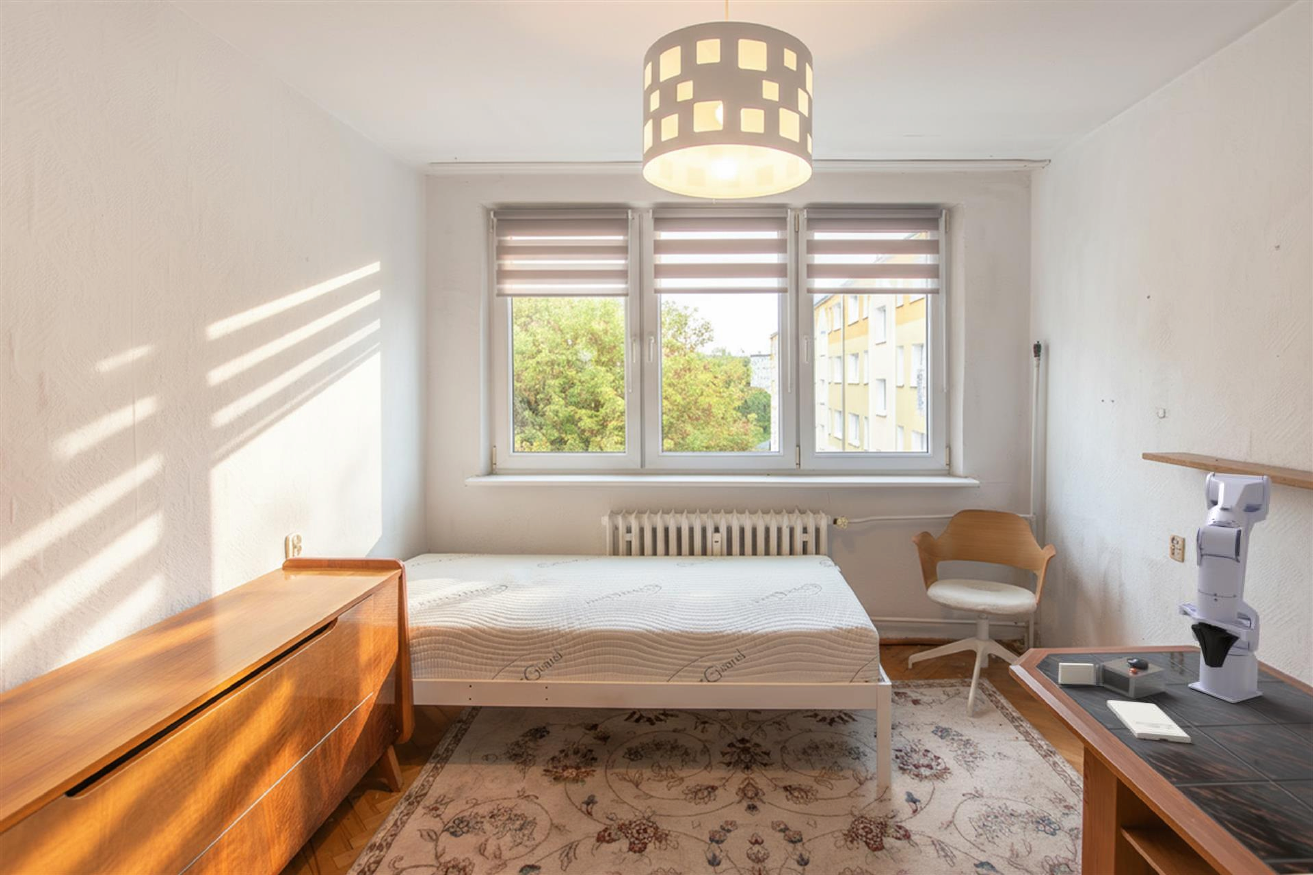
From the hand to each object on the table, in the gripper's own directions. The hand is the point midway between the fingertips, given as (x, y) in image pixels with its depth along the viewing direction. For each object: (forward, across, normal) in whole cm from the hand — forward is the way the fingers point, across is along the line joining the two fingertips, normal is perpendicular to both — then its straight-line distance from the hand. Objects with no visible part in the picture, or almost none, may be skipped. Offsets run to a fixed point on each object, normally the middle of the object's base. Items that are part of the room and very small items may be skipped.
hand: (1213, 665), depth 123 cm
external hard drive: (+11, +1, -13) cm, 17 cm away
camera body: (+10, -13, -5) cm, 17 cm away
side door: (+10, -15, -15) cm, 23 cm away
